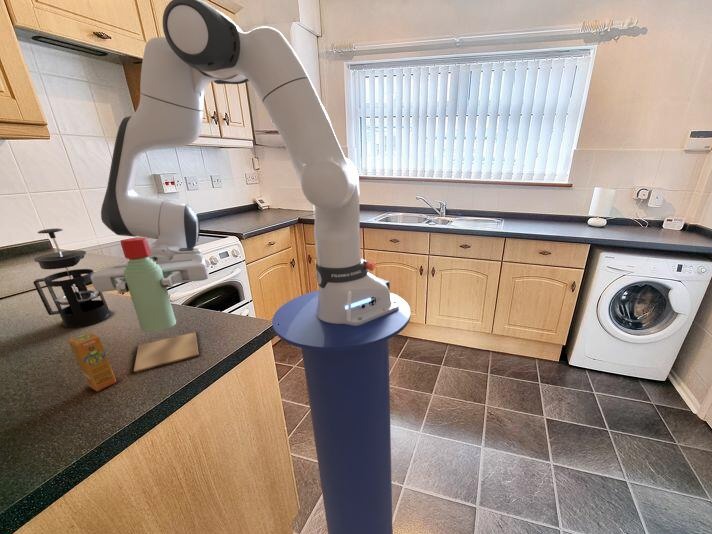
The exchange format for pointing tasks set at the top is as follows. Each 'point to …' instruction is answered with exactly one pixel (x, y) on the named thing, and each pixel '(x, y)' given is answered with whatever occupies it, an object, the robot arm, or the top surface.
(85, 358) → the supplement box
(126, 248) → the red cap
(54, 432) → the top surface
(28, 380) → the top surface
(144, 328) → the sauce bottle
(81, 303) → the french press
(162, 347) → the cork coaster
